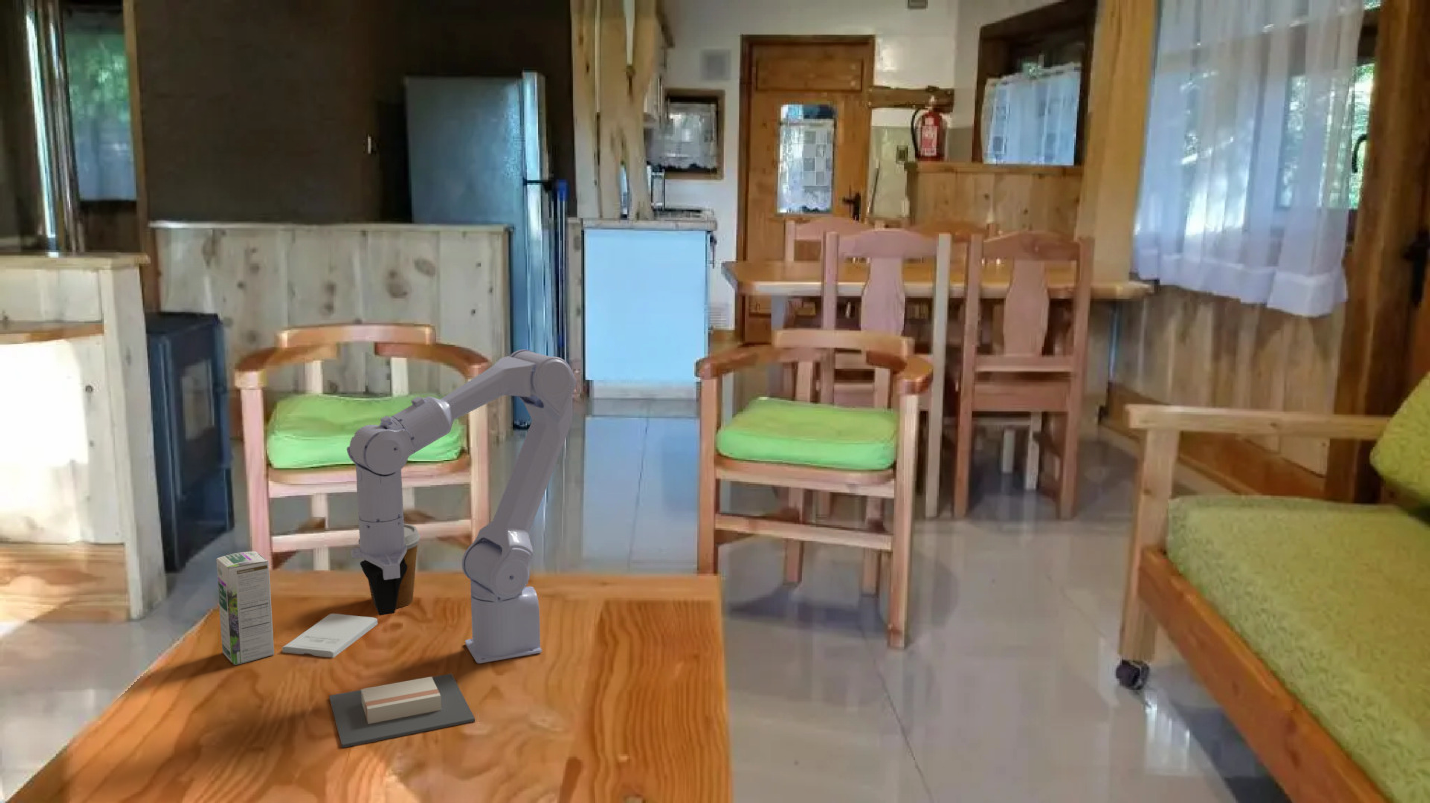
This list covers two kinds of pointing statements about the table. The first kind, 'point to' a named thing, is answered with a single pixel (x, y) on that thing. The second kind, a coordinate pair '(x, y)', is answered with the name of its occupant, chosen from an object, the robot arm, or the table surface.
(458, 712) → the mat
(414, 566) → the disposable coffee cup
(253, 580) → the syrup box
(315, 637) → the external hard drive
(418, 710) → the card deck
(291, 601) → the table surface
